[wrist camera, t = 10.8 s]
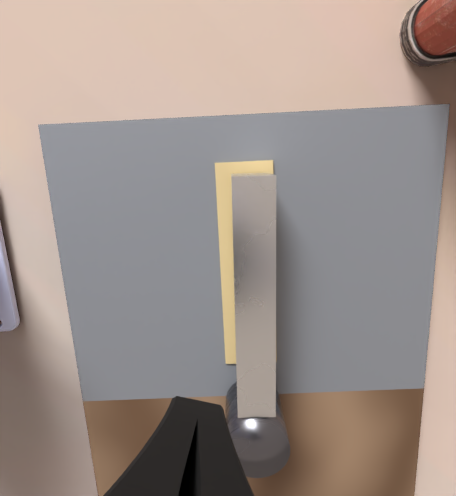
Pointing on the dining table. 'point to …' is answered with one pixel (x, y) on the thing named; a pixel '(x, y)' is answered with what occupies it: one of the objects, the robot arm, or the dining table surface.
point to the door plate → (221, 247)
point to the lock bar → (255, 329)
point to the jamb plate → (290, 441)
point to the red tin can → (430, 32)
